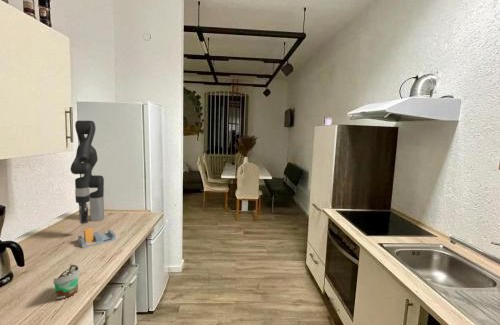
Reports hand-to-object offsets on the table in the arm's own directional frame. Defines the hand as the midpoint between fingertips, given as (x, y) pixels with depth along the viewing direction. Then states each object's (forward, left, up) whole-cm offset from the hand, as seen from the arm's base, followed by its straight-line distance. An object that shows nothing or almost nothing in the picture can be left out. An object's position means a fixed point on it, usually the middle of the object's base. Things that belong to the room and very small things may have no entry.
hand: (83, 220), depth 170 cm
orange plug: (+12, 0, -9) cm, 15 cm away
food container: (+63, -18, -10) cm, 67 cm away
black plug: (0, 0, -1) cm, 1 cm away
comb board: (+12, +4, -10) cm, 16 cm away
